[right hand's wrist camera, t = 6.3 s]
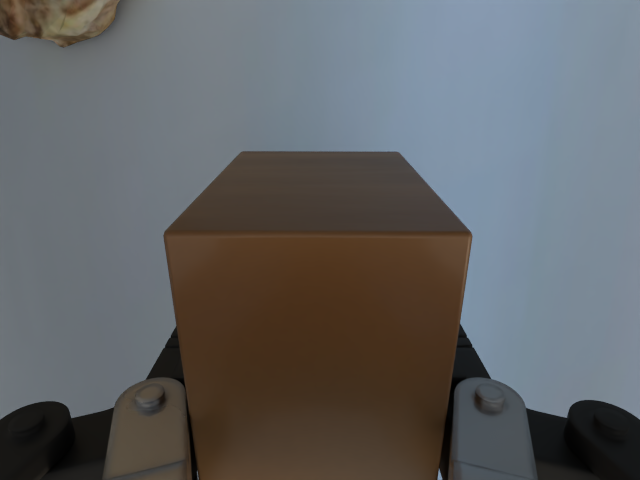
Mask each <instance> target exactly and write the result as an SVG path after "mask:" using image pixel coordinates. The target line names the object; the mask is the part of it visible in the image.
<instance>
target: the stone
mask: <svg viewBox="0 0 640 480" xmlns="http://www.w3.org/2000/svg"><path fill="white" fill-rule="evenodd" d="M119 1H120V0H0V35H3V36H5V37H8V38H11V39H13V40H16V39H19V38H22V37H25V36H28V37H34V38H39V39H47V40H53V41H54V42H55V43H56V44H58V45H59V46H60V47H66V46H69V45H71V44H74V43H76V42H79V41H83V40H86V39H89V38H92V37H95V36H98V35H100V34H101V33H102V32H103V31H104V30H105V29H106V28H108V27H109V25H110V24H111V23H112V22H113V20H114V19H115V13H116V7H117V4H118V2H119Z"/></svg>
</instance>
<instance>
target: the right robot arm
mask: <svg viewBox="0 0 640 480" xmlns="http://www.w3.org/2000/svg"><path fill="white" fill-rule="evenodd" d="M439 469H440V472H441V476H442V480H640V420H639V419H638V418H637V417H635V416H634V415H632V414H631V413H629V412H627V411H626V410H624V409H621V408H619V407H617V406H614V405H612V404H609V403H605V402H601V401H595V400H583V401H579V402H576V403H574V404H573V405H572V406H571V407H570V409H569V412H568V416H567V418H564V417H560V416H555V415H551V414H547V413H542V412H538V411H534V410H530V409H528V408H526V406H525V403H524V401H523V399H522V398H521V397H520V395H519V394H518V393H517V392H516V391H515V390H513V389H512V388H510V387H509V386H507V385H505V384H503V383H501V382H499V381H496V380H492V379H491V378H490V376H489V374H488V372H487V371H486V369H485V367H484V365H483V363H482V362H481V360H480V358H479V356H478V355H477V353H476V351H475V349H474V348H472V344H471V342H470V340H469V339H468V338H467V335H466V333H465V331H464V330H463V328H462V326H461V324H460V326H459V333H458V339H457V346H456V353H455V360H454V367H453V374H452V381H451V388H450V395H449V402H448V409H447V416H446V422H445V429H444V436H443V443H442V450H441V457H440V464H439ZM0 480H198V478H197V463H196V456H195V449H194V443H193V436H192V429H191V422H190V415H189V408H188V401H187V394H186V387H185V381H184V374H183V367H182V360H181V353H180V346H179V339H178V332H177V326H176V328H175V329H174V331H173V333H172V335H171V338H169V340H168V342H167V343H166V345H165V348H164V349H163V350H162V352H161V354H160V356H159V357H158V359H157V361H156V363H155V364H154V366H153V368H152V370H151V371H150V373H149V375H148V377H147V378H146V380H144V381H141V382H139V383H137V384H135V385H133V386H131V387H130V388H128V389H127V390H126V391H124V392H123V393H122V394H121V395H120V397H119V398H118V399H117V401H116V403H115V407H114V408H111V409H108V410H105V411H101V412H97V413H93V414H89V415H84V416H80V417H75V418H71V416H70V412H69V409H68V408H67V407H66V406H65V405H64V404H62V403H59V402H53V401H46V402H39V403H34V404H31V405H27V406H25V407H22V408H20V409H17V410H15V411H13V412H12V413H10V414H8V415H6V416H5V417H4V418H2V419H1V420H0Z"/></svg>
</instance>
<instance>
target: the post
mask: <svg viewBox="0 0 640 480" xmlns="http://www.w3.org/2000/svg"><path fill="white" fill-rule="evenodd" d="M163 236H164V243H165V250H166V257H167V263H168V270H169V277H170V284H171V291H172V298H173V305H174V312H175V319H176V325H177V332H178V339H179V346H180V353H181V360H182V367H183V374H184V381H185V387H186V394H187V401H188V408H189V415H190V422H191V429H192V436H193V443H194V449H195V456H196V463H197V470H198V477H199V480H437V478H438V471H439V464H440V457H441V450H442V443H443V436H444V429H445V422H446V416H447V409H448V402H449V395H450V388H451V381H452V374H453V367H454V360H455V353H456V346H457V339H458V333H459V326H460V319H461V312H462V305H463V298H464V291H465V284H466V277H467V270H468V263H469V256H470V250H471V243H472V234H471V232H470V231H469V229H468V228H467V227H466V226H465V225H464V224H463V223H462V222H461V221H460V219H459V218H458V217H457V216H456V215H455V214H454V213H453V212H452V211H451V210H450V208H449V207H448V206H447V205H446V204H445V203H444V202H443V201H442V200H441V198H440V197H439V196H438V195H437V194H436V193H435V192H434V191H433V190H432V188H431V187H430V186H429V185H428V184H427V183H426V182H425V181H424V180H423V178H422V177H421V176H420V175H419V174H418V173H417V172H416V171H415V170H414V168H413V167H412V166H411V165H410V164H409V163H408V162H407V161H406V160H405V158H404V157H403V156H402V155H401V154H400V153H399V152H279V151H243V152H241V153H240V154H239V155H238V156H237V157H236V158H235V159H234V160H233V161H232V162H231V163H230V164H229V165H228V166H227V167H226V168H225V169H224V170H223V171H222V172H221V173H220V174H219V175H218V176H217V177H216V179H215V180H214V181H213V182H212V183H211V184H210V185H209V186H208V187H207V188H206V189H205V190H204V191H203V192H202V193H201V194H200V195H199V196H198V197H197V198H196V199H195V200H194V201H193V202H192V204H191V205H190V206H189V207H188V208H187V209H186V210H185V211H184V212H183V213H182V214H181V215H180V216H179V217H178V218H177V219H176V220H175V221H174V222H173V223H172V224H171V225H170V226H169V227H168V228H167V230H166V231H165V232H164V235H163Z"/></svg>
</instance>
